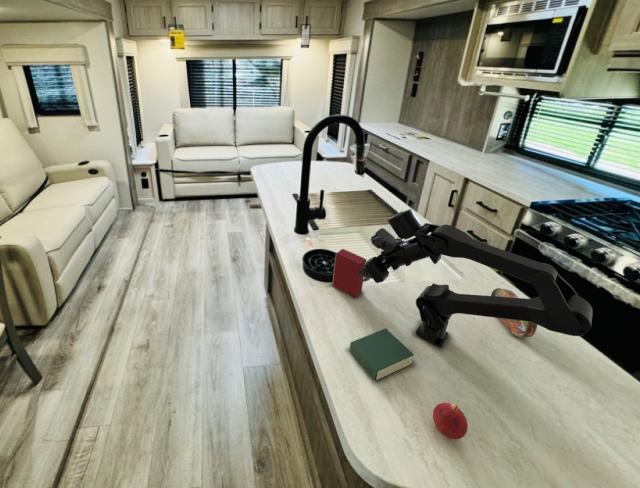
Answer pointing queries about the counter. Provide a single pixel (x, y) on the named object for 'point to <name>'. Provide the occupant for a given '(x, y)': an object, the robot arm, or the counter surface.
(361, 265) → the paperback
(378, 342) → the hardcover
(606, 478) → the counter surface
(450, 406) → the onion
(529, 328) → the tin
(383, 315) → the counter surface
